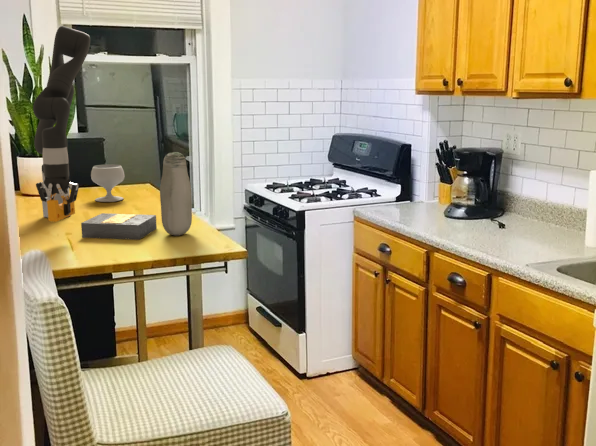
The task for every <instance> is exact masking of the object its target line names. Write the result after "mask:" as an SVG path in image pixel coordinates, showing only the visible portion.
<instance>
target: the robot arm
mask: <svg viewBox="0 0 596 446" xmlns="http://www.w3.org/2000/svg"><path fill="white" fill-rule="evenodd" d="M90 45H91V37H90V35H89V34H87V33H85V32H84V31H81V30H77V29H74V28H71V27H68V26H64V25H61V26H59V27H58V28H57V30H56V33H55V36H54V42H53V49H52V57H51V63H50V64H51V65H50V71H49V74H48V75H49V76H48V79H47V83H46V86H45V87H44V89H43V90H41V92H40V93H39V95H37V96H36V98H35V100H34V101H33V105H32V110H33V114H34V116H35V117H36V118H37V119H38V120H39V122H38V125H37V127H36V131H35V134H34V139H33V140H34V142H33V143H34V148H35V152H36V153H38V154H40V155H42V164H41V175H42V176H41V178H42V181H39V182H37V183H35V187H36V189H37V193H38V195H39V198H40V200H41V205H42V214H43V218H47V219H48V207H47V201H48V200H58V203H59V204H61V203H63V202H64V204H63V206H64V215H65V216H67V215H69V213H70V212H71V207H70V203H71V202H74V203H75V202H76V201H77V197H78V193H79V188H80V185H79V183H74V182H71V179H70V165H69V164H70V162H69V154H68V153H69V150H68V148H69V147H68V145H69V144H68V137H67V127H68V123H69V118H70V115H71V114H70V112H71V106H72V102H73V98H74V93H75V87H74V80H75V78H76V77H77V75H78V73H79V72H80V70H81V68H82V66H83V65H84V62H85V61H86V58H87V56H88V54H89V50H90ZM64 56H66V57H69V58H71V59H70V60H68V61H66V62H65V61H64ZM69 194H70V197H69ZM71 216H72V215H70V216H69V217H71Z"/></svg>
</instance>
